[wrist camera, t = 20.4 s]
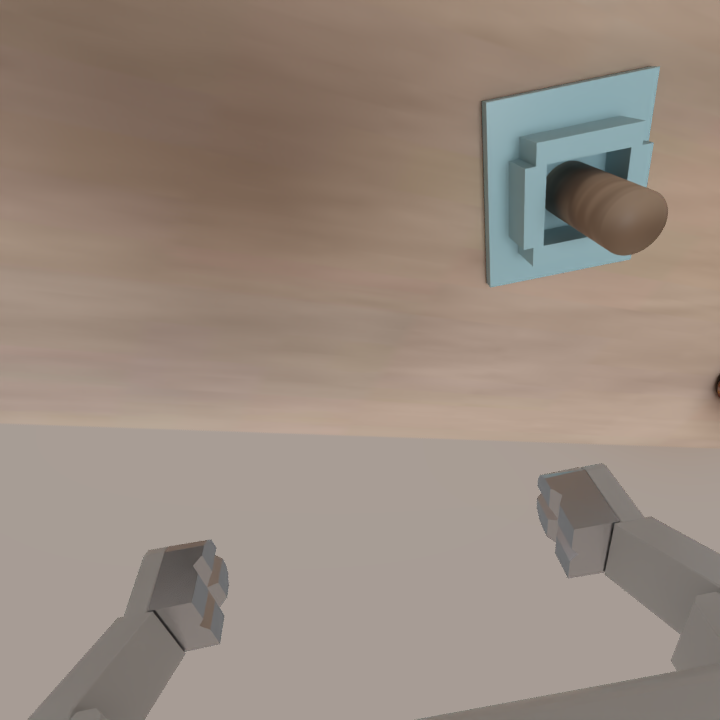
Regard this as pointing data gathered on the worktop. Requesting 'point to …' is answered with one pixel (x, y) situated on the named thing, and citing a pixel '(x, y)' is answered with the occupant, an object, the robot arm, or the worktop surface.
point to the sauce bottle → (718, 389)
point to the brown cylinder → (605, 207)
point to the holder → (546, 151)
